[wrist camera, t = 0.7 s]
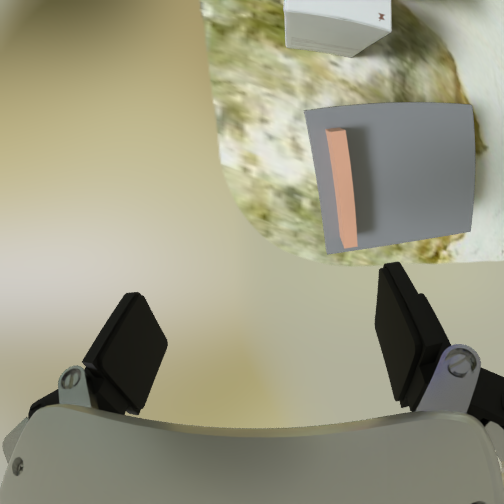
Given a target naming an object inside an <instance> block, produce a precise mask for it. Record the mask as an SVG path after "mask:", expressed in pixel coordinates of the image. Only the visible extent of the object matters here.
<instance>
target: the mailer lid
mask: <svg viewBox="0 0 504 504" xmlns="http://www.w3.org/2000/svg"><path fill="white" fill-rule="evenodd" d="M304 114H305V119H306V124H307V129H308V134H309V139H310V144H311V150H312V155H313V161H314V167H315V173H316V179H317V185H318V192H319V199H320V206H321V213H322V220H323V228H324V236H325V245H326V251H327V254H334V253H340V252H347V251H354V250H360V249H367V248H373V247H379V246H386V245H392V244H398V243H405V242H411V241H417V240H423V239H429V238H435V237H442V236H448V235H453V234H459V233H465V232H470V231H471V224H472V215H473V204H474V189H475V134H474V119H473V109H472V105H468V104H456V103H436V102H392V103H371V104H357V105H345V106H335V107H327V108H319V109H311V110H304Z"/></svg>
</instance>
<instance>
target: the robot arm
mask: <svg viewBox="0 0 504 504" xmlns="http://www.w3.org/2000/svg"><path fill="white" fill-rule="evenodd" d="M375 330H376V333H377V336H378V339H379V343H380V346H381V350H382V353H383V357H384V360H385V364H386V367H387V371H388V375H389V379H390V382H391V387H392V390H393V395H394V399H395V401H400V404H401V408H403V407H407V406H409V407H410V411H412V412H409V413H402V414H396V415H390V416H384V417H378V418H372V419H366V420H360V421H353V422H345V423H338V424H329V425H319V426H307V427H292V428H267V429H266V428H263V429H262V428H258V429H256V428H255V429H254V428H253V429H252V428H219V427H204V426H193V425H183V424H174V423H167V422H159V421H154V420H147V419H142V418H136V417H131V416H126V415H125V411H127V412H128V413H129V414H135V415H139V413H140V410H141V409H143V407H144V406H145V403H146V401H147V398H148V395H149V393H150V390H151V387H152V385H153V382H154V379H155V377H156V374H157V372H158V369H159V367H160V364H161V362H162V359H163V357H164V354H165V352H166V349H167V346H168V342H167V339H166V337H165V335H164V333H163V332H162V330H161V328H160V326H159V324H158V322H157V320H156V319H155V317H154V315H153V313H152V311H151V310H150V307H149V305H148V303H147V301H146V299H145V297H144V296H142V295H141V294H140V293H138V292H134V293H126V294H125V295H124V296H123V298H122V299H121V301H120V302H119V304H118V305H117V307H116V308H115V310H114V311H113V313H112V314H111V316H110V317H109V319H108V320H107V322H106V324H105V325H104V327H103V328H102V330H101V331H100V333H99V335H98V336H97V338H96V340H95V341H94V343H93V344H92V346H91V348H90V349H89V351H88V353H87V354H86V356H85V357H84V359H83V361H82V363H83V364H84V365H85V366H86V368H85V369H83V368H82V367H81V366H78V365H77V366H72V367H69V368H68V369H66V370H65V371H64V372H63V373H62V375H61V376H60V378H59V381H58V389H57V390H56V391H54V392H52V393H50V394H48V395H47V396H45V397H43V398H42V399H40V400H38V401H36V402H35V403H33V404H32V406H31V407H30V411H29V417H28V418H27V417H26V418H25V419H24V420H23V421H22V422H21V423H20V424H19V425H18V426H16V428H14V429H13V430H12V431H11V432H10V433H9V434H8V435H7V436H6V437H5V439H4V441H3V451H4V454H5V457H6V459H7V462H8V467H7V470H6V472H5V475H4V478H3V481H2V485H1V488H0V504H504V377H502V376H500V375H497V374H495V373H493V372H490V371H488V370H486V369H483V368H481V361H480V357H479V356H478V354H477V352H476V351H475V350H474V349H472V348H471V347H469V346H467V345H462V344H456V345H452V346H451V344H450V342H449V340H448V338H447V336H446V334H445V332H444V330H443V328H442V326H441V324H440V322H439V320H438V318H437V317H436V315H435V313H434V311H433V309H432V307H431V305H430V304H429V302H428V300H427V298H426V297H425V295H424V294H422V293H420V294H418V292H417V291H416V289H415V287H414V286H413V284H412V282H411V280H410V278H409V277H408V275H407V273H406V272H405V270H404V269H403V267H402V265H401V263H400V262H393V263H386V264H384V267H383V268H381V269H379V281H378V294H377V305H376V315H375ZM495 450H496V452H495ZM497 456H498V457H499V459H500V460H501V462H502V471H500V466H499V462H498V458H497Z"/></svg>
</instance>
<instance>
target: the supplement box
mask: <svg viewBox="0 0 504 504" xmlns="http://www.w3.org/2000/svg"><path fill="white" fill-rule="evenodd" d="M283 10H284V15H285V42H286V47H287V48H294V49H302V50H309V51H316V52H323V53H329V54H335V55H340V56H345V57H350V58H352V57H353V56H354V55H356V54H357V53H359V52H360V51H362V50H364V49H365V48H367V47H368V46H370V45H371V44H373V43H375V42H376V41H378V40H379V39H381V38H383V37H384V36H386V35H388V34H389V33H391V32H392V11H391V0H284V8H283Z"/></svg>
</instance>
